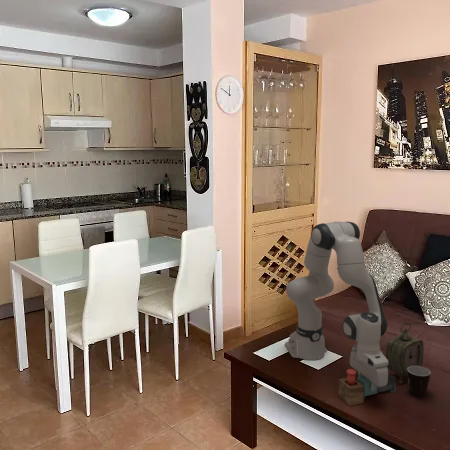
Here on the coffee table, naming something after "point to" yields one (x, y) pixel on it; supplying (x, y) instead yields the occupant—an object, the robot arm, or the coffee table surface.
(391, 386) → the rail
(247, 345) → the coffee table surface
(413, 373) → the coffee mug
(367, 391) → the block
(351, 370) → the red rounded peg
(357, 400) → the wooden box
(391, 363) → the tabletop clock
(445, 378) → the coffee table surface
